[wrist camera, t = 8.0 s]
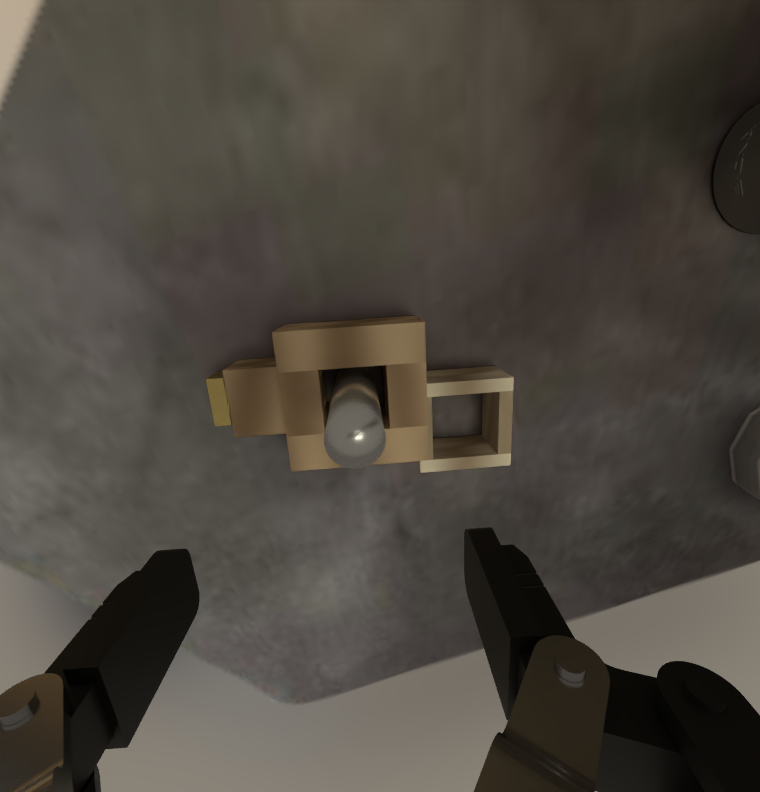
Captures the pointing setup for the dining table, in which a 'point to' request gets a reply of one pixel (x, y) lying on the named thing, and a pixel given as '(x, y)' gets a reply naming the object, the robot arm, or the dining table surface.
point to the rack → (495, 419)
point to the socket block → (304, 396)
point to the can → (747, 455)
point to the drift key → (221, 402)
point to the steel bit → (354, 420)
